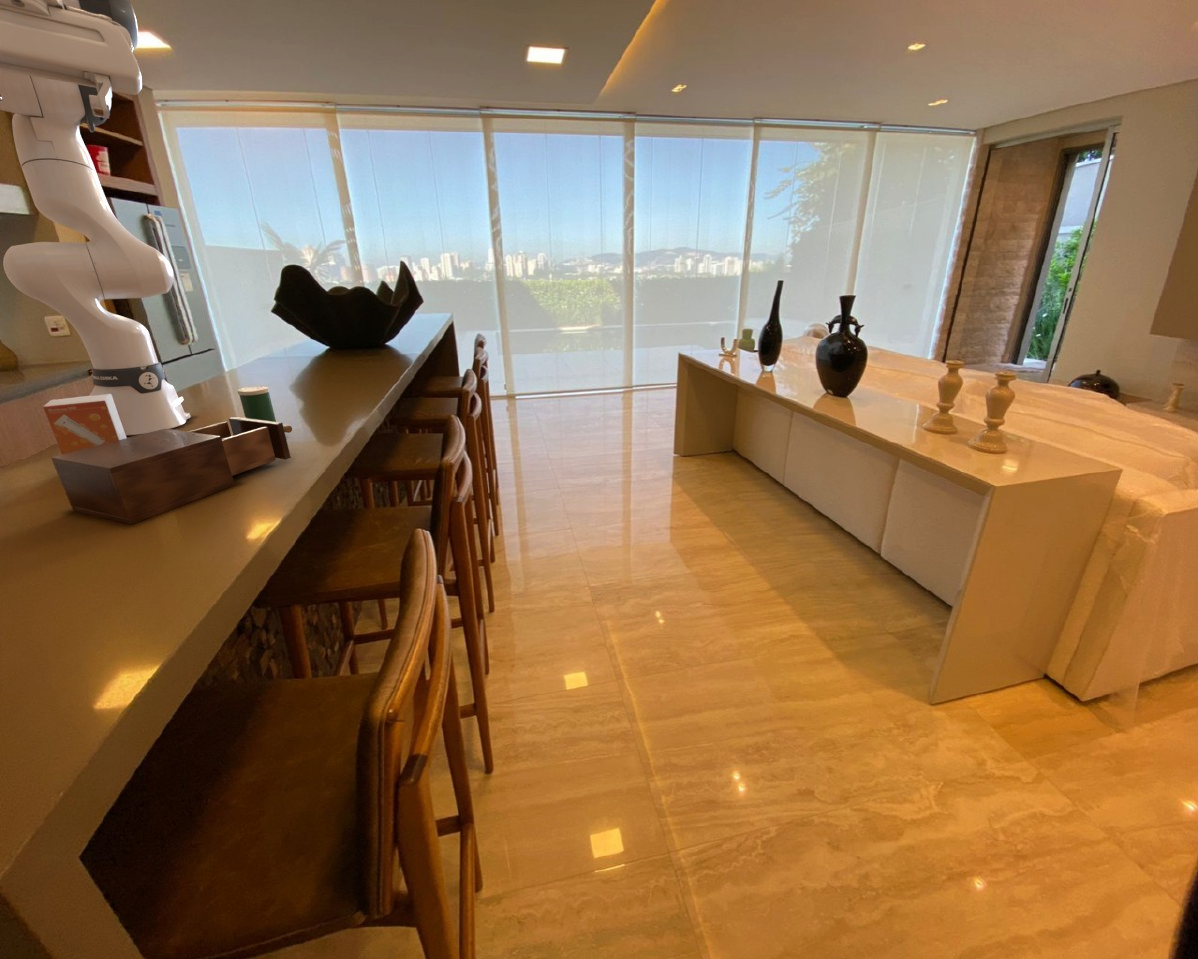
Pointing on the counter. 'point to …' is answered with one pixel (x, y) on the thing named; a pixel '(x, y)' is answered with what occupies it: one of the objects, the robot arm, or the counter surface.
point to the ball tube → (257, 403)
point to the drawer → (250, 442)
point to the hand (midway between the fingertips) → (49, 106)
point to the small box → (84, 422)
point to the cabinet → (144, 474)
